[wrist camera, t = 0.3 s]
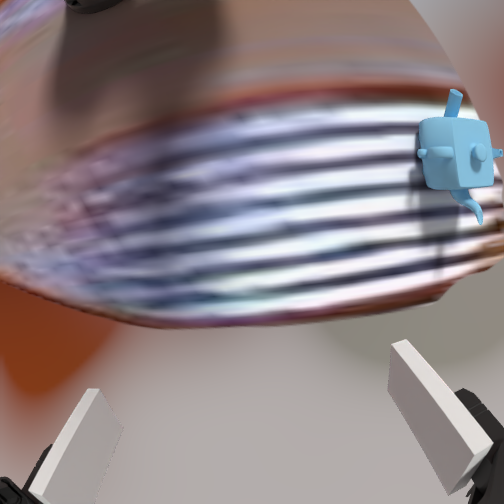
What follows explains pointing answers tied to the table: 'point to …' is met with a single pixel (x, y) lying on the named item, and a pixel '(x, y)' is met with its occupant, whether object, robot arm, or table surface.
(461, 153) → the teapot
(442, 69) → the table surface
